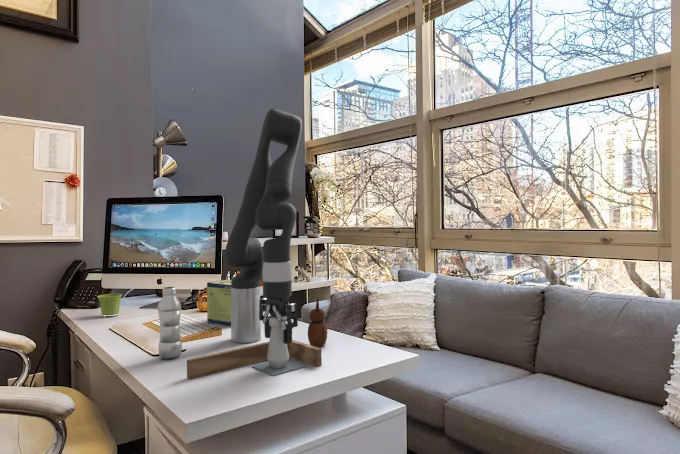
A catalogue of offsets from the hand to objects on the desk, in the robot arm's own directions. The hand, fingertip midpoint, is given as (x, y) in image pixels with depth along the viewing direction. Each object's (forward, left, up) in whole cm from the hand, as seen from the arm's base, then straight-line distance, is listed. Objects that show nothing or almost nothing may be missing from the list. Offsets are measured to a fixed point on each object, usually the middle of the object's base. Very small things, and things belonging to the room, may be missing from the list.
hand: (277, 340), depth 121 cm
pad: (0, 0, -7) cm, 7 cm away
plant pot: (-106, -11, -7) cm, 107 cm away
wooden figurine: (-9, +21, -7) cm, 24 cm away
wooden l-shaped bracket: (-1, -6, -7) cm, 9 cm away
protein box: (-59, +19, -7) cm, 62 cm away
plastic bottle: (-29, -17, -7) cm, 34 cm away
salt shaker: (0, 0, -7) cm, 7 cm away
